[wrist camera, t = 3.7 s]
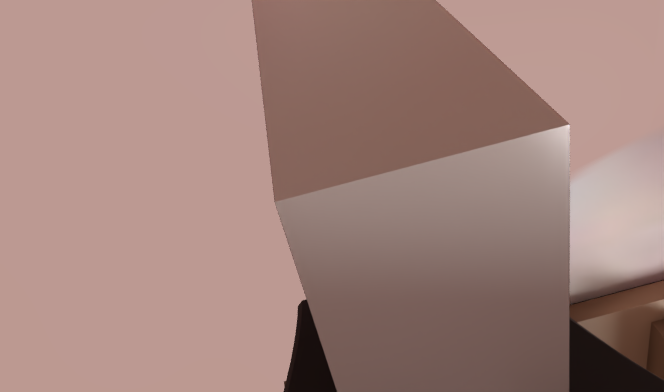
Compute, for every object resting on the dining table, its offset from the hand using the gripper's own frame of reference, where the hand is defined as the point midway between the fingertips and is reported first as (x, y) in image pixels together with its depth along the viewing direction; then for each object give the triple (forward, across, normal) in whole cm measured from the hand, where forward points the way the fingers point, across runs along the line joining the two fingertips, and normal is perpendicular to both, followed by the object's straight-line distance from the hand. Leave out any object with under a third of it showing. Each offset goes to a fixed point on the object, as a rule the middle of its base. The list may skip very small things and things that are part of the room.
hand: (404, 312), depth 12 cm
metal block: (+3, 0, 0) cm, 3 cm away
